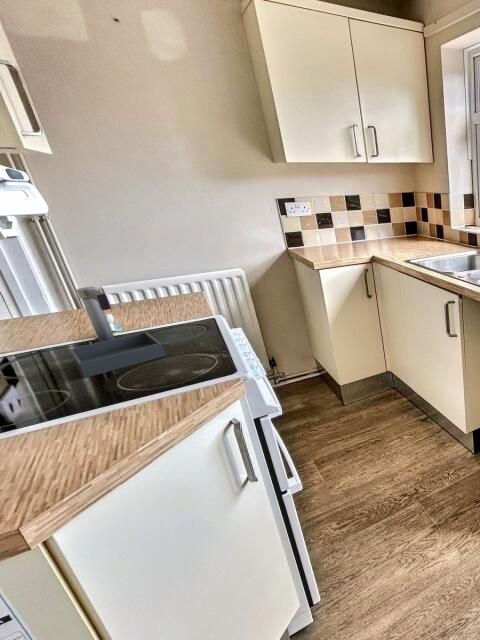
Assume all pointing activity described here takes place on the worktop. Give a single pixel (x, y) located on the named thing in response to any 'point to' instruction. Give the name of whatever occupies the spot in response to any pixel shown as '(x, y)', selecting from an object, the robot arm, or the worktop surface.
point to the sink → (116, 353)
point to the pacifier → (113, 325)
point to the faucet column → (98, 320)
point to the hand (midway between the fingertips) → (9, 238)
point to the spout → (94, 296)
